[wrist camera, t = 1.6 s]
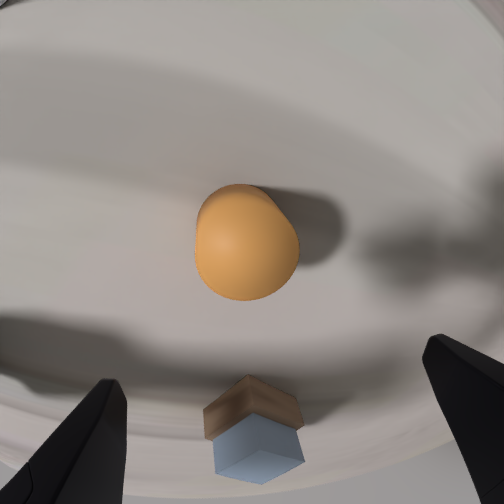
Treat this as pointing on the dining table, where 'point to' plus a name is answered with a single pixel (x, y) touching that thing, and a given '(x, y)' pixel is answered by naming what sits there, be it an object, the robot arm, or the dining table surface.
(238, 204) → the orange cylinder
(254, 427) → the slate top block
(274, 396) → the walnut base block
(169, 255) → the dining table surface
